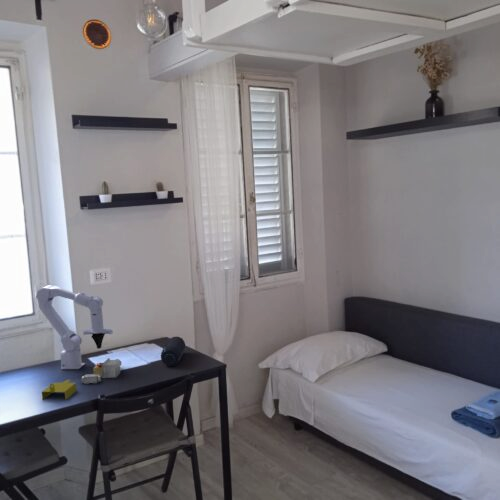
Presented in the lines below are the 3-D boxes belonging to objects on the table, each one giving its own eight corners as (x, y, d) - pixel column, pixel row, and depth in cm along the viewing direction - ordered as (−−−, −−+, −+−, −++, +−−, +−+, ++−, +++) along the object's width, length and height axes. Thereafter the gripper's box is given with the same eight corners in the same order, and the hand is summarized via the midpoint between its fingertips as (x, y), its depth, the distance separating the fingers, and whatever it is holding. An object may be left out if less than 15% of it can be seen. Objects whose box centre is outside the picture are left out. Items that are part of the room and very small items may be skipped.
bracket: (84, 371, 238) (69, 383, 223) (86, 388, 238) (70, 401, 224) (52, 371, 240) (34, 383, 225) (53, 388, 241) (36, 401, 226)
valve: (93, 377, 251) (93, 365, 250) (98, 373, 256) (97, 362, 255) (112, 376, 250) (111, 365, 249) (116, 373, 255) (115, 361, 254)
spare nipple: (81, 384, 243) (80, 377, 242) (83, 381, 246) (83, 374, 246) (99, 383, 243) (99, 376, 242) (101, 380, 246) (101, 373, 246)
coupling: (102, 378, 249) (101, 364, 248) (113, 368, 262) (112, 355, 262) (115, 378, 248) (113, 364, 247) (124, 368, 262) (123, 354, 261)
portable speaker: (168, 353, 284) (167, 335, 283) (186, 352, 284) (185, 334, 282) (160, 368, 259) (158, 349, 258) (180, 367, 259) (178, 348, 258)
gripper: (79, 323, 262) (82, 350, 263) (107, 323, 260) (110, 350, 261) (85, 320, 268) (88, 346, 270) (113, 319, 267) (115, 345, 268)
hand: (99, 348), depth 266 cm, fingers closed
